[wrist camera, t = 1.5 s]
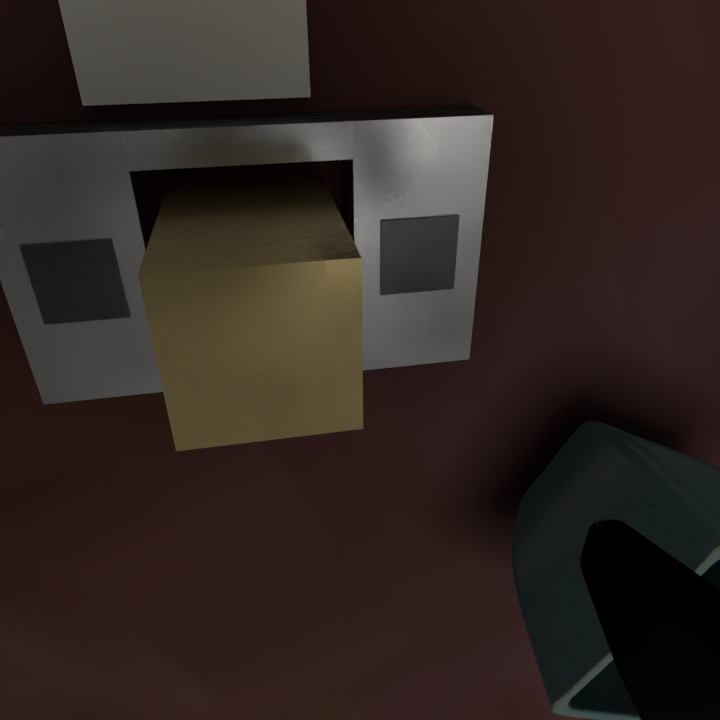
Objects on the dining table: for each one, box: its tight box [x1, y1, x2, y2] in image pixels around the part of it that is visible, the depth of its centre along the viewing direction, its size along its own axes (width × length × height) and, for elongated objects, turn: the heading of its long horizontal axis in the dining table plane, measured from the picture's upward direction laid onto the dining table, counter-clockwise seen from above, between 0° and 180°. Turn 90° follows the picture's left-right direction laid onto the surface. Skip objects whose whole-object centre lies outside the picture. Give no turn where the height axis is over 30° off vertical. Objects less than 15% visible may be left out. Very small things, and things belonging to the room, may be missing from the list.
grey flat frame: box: [0, 106, 494, 404], centre depth 19 cm, size 14×8×2 cm, turn 90°
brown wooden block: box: [138, 173, 363, 451], centre depth 16 cm, size 4×4×7 cm
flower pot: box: [512, 421, 720, 720], centre depth 24 cm, size 9×9×9 cm
